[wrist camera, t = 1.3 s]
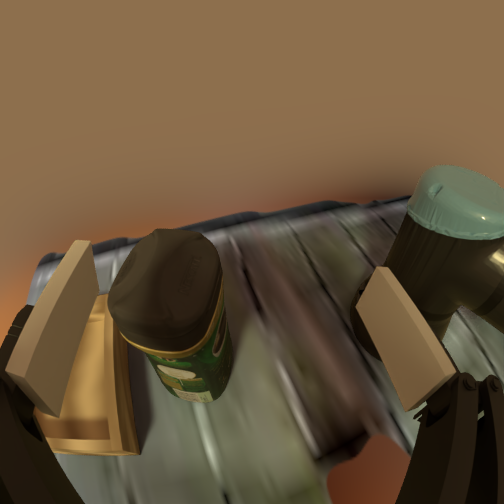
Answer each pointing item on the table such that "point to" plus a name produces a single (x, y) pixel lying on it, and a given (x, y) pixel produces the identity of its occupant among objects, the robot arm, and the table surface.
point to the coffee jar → (176, 311)
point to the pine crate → (96, 395)
